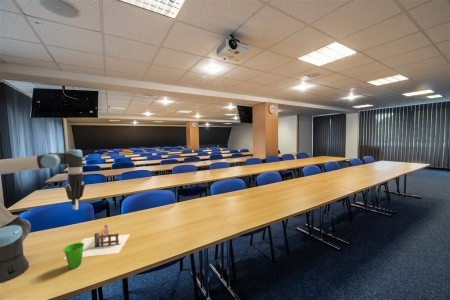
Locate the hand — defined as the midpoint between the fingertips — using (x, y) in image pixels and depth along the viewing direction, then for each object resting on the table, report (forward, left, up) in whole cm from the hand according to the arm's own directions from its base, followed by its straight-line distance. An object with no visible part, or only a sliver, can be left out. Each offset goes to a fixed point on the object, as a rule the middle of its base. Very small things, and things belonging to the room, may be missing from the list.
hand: (75, 209), depth 127 cm
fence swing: (+3, -14, -24) cm, 28 cm away
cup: (-24, -11, -25) cm, 36 cm away
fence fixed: (-5, -20, -24) cm, 31 cm away
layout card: (-4, -15, -24) cm, 29 cm away
